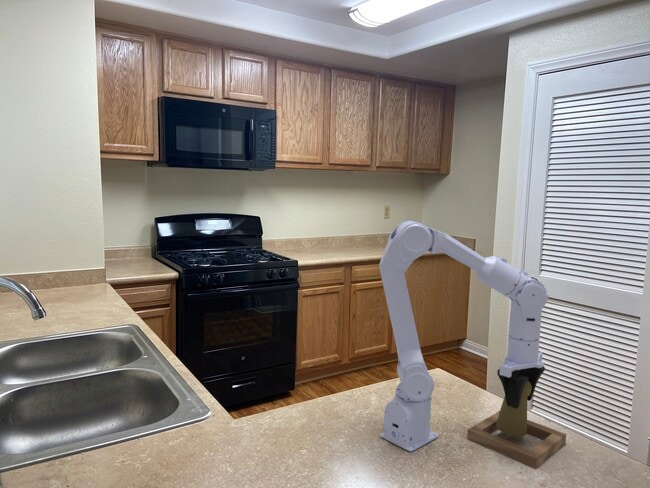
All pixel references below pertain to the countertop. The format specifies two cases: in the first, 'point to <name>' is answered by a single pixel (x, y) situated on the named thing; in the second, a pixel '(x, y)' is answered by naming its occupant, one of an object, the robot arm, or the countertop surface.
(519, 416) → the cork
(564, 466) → the countertop surface
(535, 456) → the socket block
